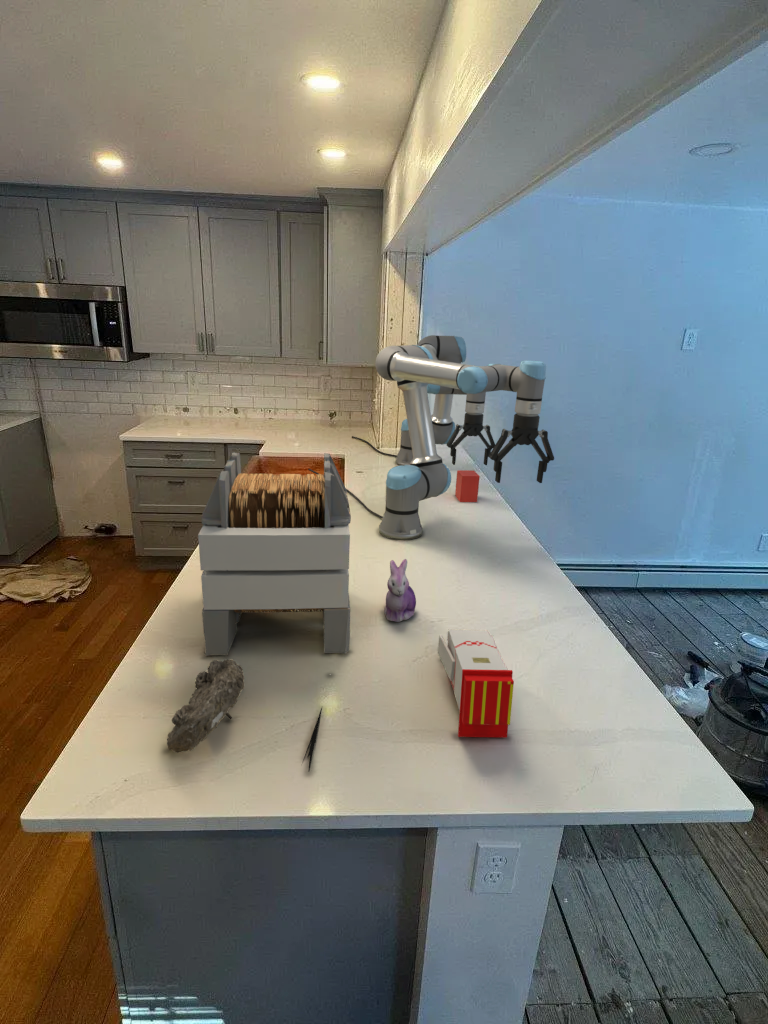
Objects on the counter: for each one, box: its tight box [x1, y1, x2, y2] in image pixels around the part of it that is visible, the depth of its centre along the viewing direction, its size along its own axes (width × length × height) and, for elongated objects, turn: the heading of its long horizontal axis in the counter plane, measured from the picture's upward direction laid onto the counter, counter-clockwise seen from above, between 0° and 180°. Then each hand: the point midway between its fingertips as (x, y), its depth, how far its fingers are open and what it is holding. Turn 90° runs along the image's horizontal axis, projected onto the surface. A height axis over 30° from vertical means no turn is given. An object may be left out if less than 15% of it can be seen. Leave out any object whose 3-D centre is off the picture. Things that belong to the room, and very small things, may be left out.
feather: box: [301, 673, 332, 771], centre depth 108 cm, size 2×28×2 cm
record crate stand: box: [197, 451, 352, 657], centre depth 136 cm, size 34×33×41 cm
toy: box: [437, 628, 515, 738], centre depth 117 cm, size 12×13×30 cm
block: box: [454, 469, 481, 503], centre depth 239 cm, size 7×9×11 cm
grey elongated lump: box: [166, 658, 245, 754], centre depth 106 cm, size 22×10×15 cm
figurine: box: [384, 558, 417, 623], centre depth 145 cm, size 9×10×15 cm
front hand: (518, 481), depth 178 cm, fingers open, 13 cm apart
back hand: (469, 464), depth 236 cm, fingers open, 13 cm apart
